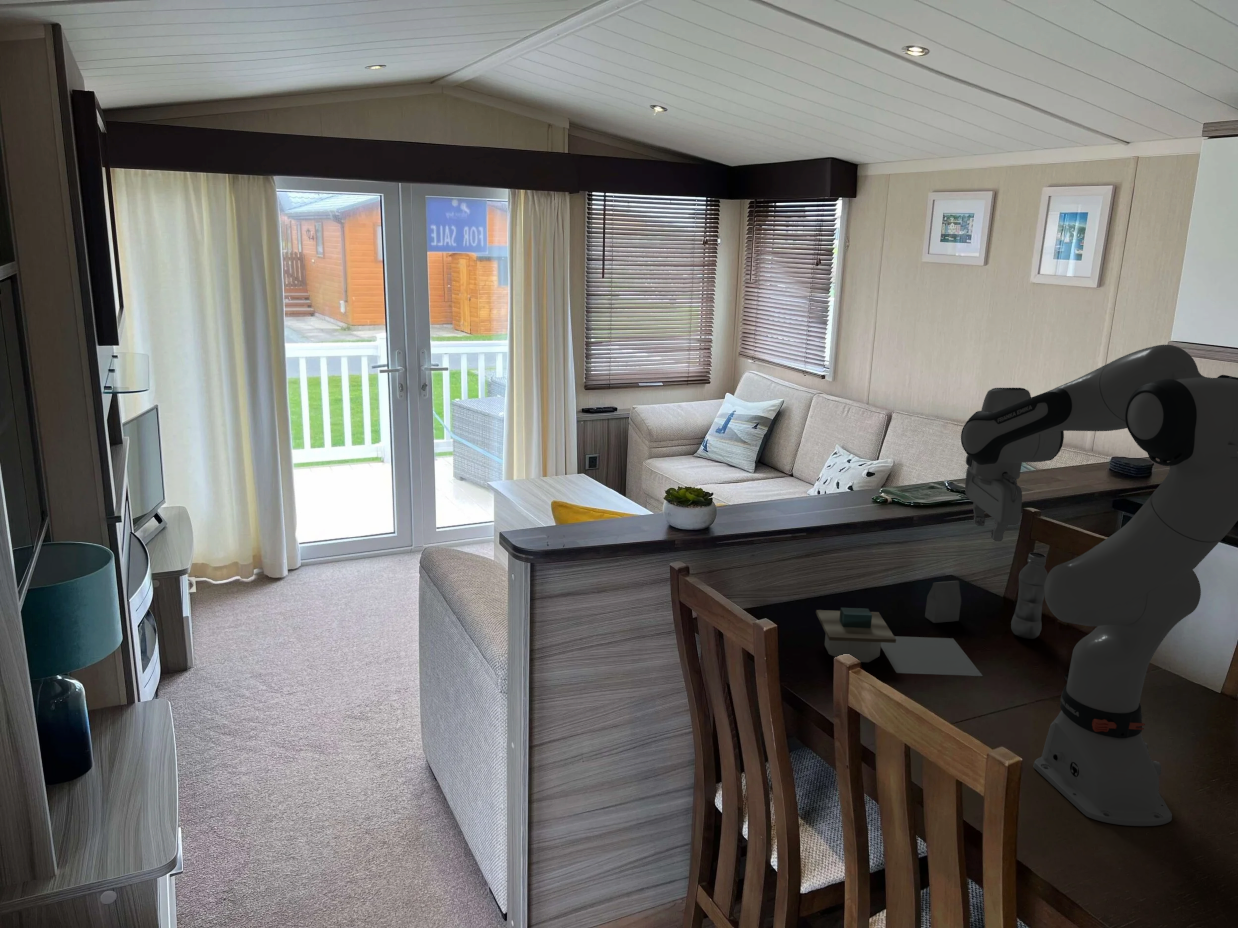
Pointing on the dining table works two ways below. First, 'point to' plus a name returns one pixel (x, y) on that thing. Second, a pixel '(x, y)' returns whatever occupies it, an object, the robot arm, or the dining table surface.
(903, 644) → the mat
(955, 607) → the dark grey block
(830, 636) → the board
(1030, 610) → the plastic bottle
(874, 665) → the dining table surface
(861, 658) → the bowl
